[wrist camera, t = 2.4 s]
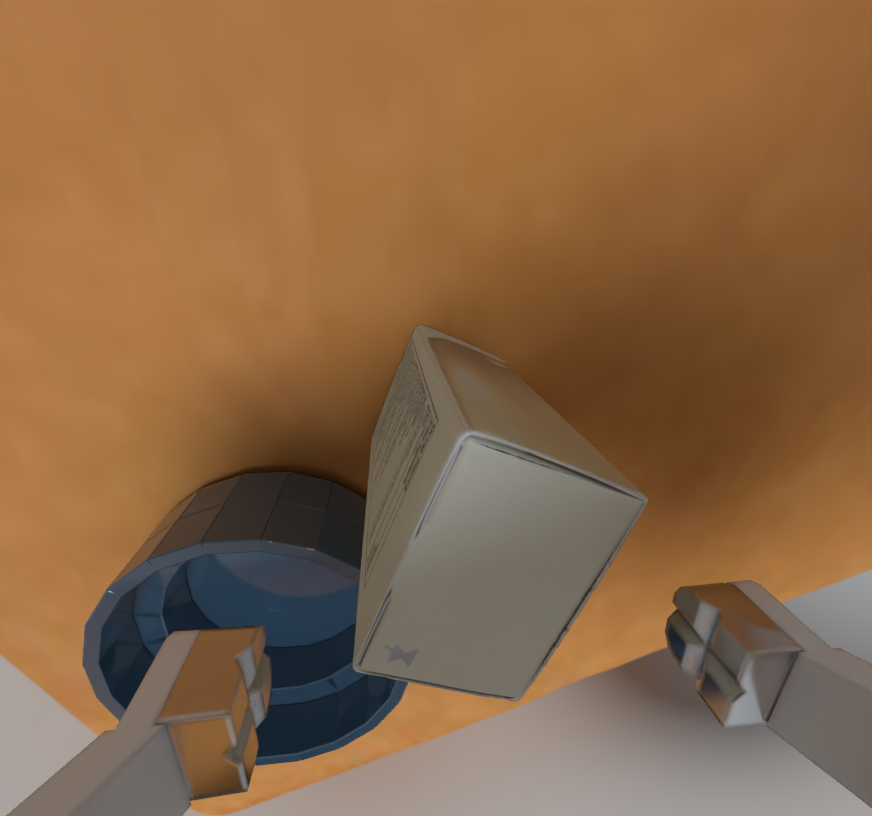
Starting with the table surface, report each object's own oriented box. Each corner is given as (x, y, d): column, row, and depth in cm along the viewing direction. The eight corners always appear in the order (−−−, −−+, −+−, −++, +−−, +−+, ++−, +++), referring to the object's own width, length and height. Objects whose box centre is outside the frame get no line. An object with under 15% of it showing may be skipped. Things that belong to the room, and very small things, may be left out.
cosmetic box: (449, 465, 21) (517, 717, 10) (368, 438, 20) (342, 686, 9) (505, 350, 19) (666, 502, 8) (418, 314, 18) (464, 431, 7)
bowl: (406, 460, 21) (412, 530, 16) (410, 649, 26) (415, 749, 21) (125, 471, 20) (32, 552, 15) (184, 668, 25) (131, 780, 19)
